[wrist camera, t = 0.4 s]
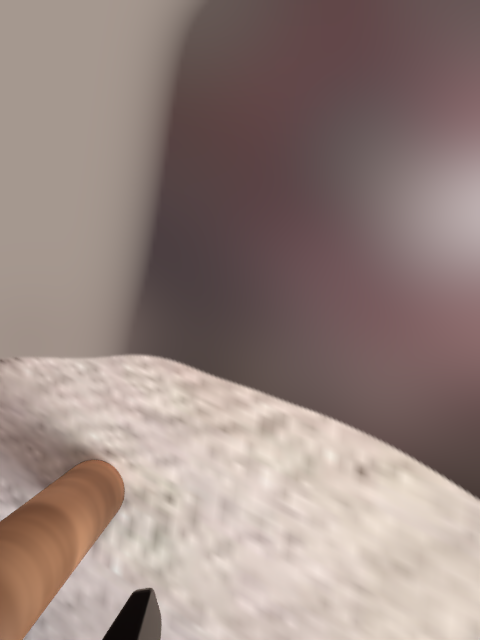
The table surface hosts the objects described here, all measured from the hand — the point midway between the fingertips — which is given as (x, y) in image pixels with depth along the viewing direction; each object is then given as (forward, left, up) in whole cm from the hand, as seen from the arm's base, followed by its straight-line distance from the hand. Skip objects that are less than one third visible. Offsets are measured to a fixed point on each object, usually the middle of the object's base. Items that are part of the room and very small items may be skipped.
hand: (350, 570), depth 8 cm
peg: (-11, +7, -15) cm, 20 cm away
